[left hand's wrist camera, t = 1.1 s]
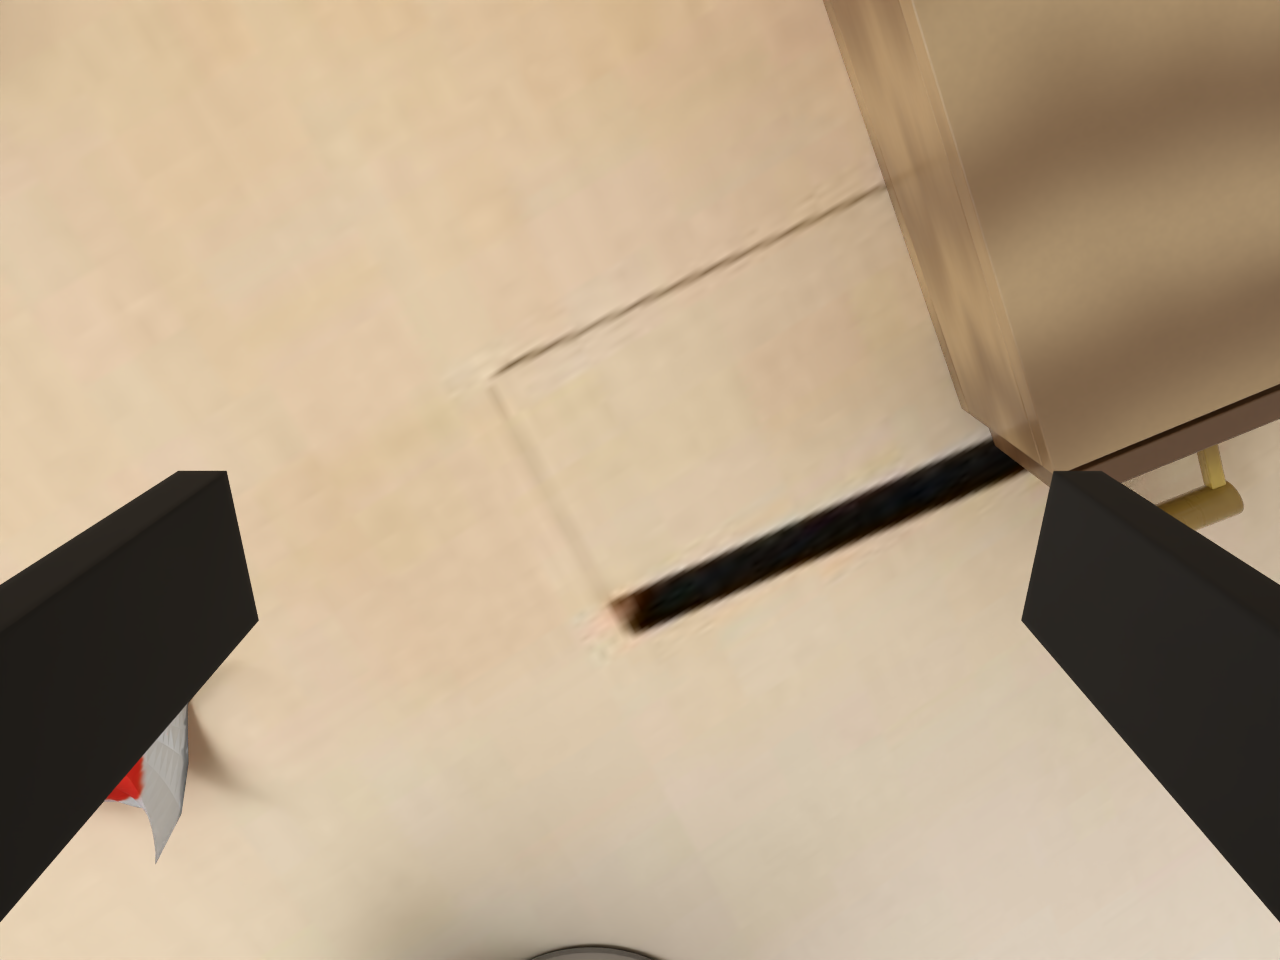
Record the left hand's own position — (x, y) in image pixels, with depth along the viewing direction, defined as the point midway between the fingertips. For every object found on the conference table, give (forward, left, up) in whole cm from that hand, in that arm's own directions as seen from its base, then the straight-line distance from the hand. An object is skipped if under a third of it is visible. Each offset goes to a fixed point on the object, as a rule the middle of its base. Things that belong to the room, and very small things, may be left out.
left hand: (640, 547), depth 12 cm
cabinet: (+10, -14, -24) cm, 30 cm away
